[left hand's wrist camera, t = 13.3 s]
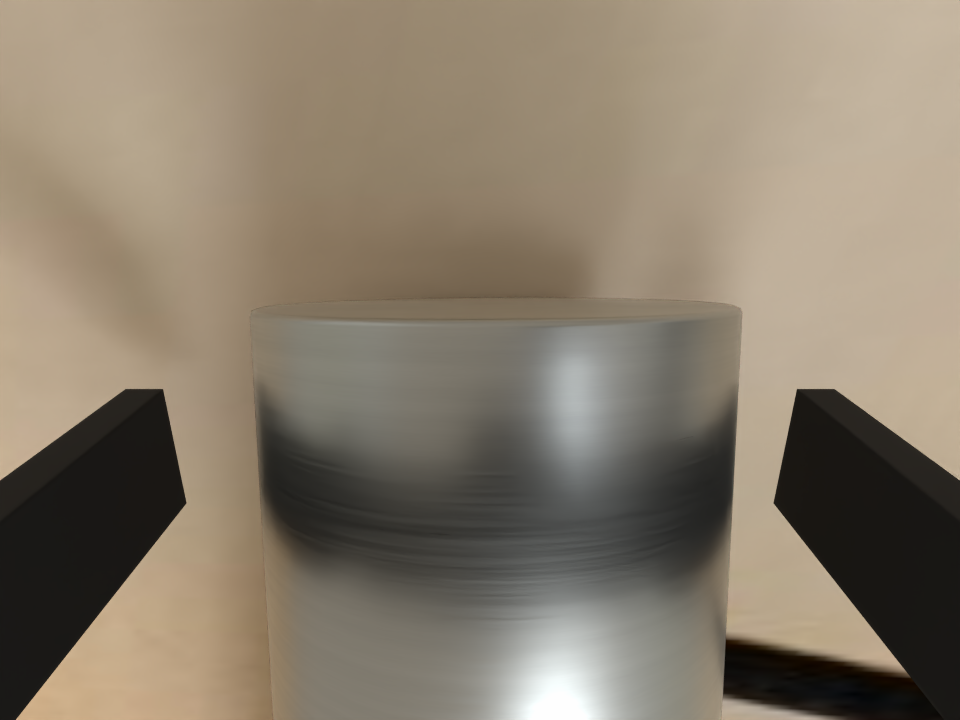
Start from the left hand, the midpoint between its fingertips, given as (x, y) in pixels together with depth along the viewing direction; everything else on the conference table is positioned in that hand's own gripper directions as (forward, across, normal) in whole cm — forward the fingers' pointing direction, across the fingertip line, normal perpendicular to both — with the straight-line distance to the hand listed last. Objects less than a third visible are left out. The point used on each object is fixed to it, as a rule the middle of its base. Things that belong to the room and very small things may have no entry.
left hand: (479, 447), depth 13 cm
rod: (0, 0, -10) cm, 10 cm away
